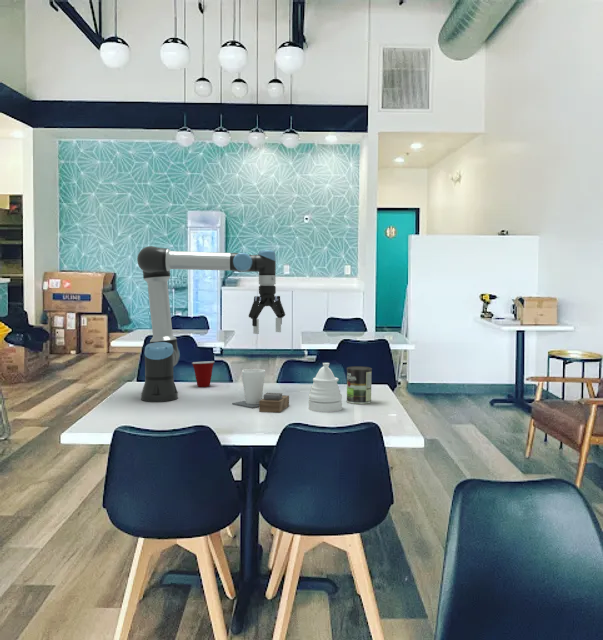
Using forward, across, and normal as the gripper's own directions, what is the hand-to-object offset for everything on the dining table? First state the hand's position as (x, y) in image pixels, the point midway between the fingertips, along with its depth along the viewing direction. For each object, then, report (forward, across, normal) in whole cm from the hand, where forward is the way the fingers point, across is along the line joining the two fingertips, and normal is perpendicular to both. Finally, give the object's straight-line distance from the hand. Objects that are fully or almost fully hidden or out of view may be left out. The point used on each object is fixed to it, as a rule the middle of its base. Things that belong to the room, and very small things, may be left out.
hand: (267, 333), depth 273 cm
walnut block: (+27, -23, -28) cm, 45 cm away
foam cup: (+26, -23, -16) cm, 38 cm away
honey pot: (+27, -10, -43) cm, 52 cm away
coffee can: (+27, +10, -44) cm, 53 cm away
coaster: (+27, -23, -16) cm, 39 cm away
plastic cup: (+27, -9, +35) cm, 45 cm away
